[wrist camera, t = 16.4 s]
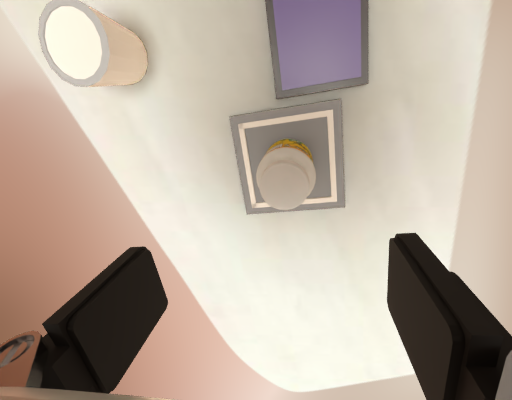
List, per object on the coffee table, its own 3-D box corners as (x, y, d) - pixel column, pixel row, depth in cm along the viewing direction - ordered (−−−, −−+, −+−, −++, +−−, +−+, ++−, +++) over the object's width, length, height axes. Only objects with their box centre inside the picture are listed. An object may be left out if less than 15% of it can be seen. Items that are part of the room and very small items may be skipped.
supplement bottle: (256, 155, 29) (236, 177, 20) (295, 127, 27) (293, 138, 18) (282, 192, 30) (274, 228, 21) (321, 167, 28) (331, 196, 19)
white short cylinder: (164, 68, 28) (124, 58, 21) (123, 102, 30) (74, 102, 24) (126, 6, 26) (70, -26, 20) (85, 46, 28) (22, 29, 22)
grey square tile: (230, 116, 28) (228, 116, 28) (340, 98, 26) (341, 98, 25) (247, 212, 32) (246, 215, 32) (344, 205, 30) (345, 208, 29)
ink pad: (264, -14, 24) (262, -19, 23) (365, -41, 22) (369, -49, 21) (277, 99, 27) (276, 98, 26) (366, 84, 25) (369, 83, 24)
